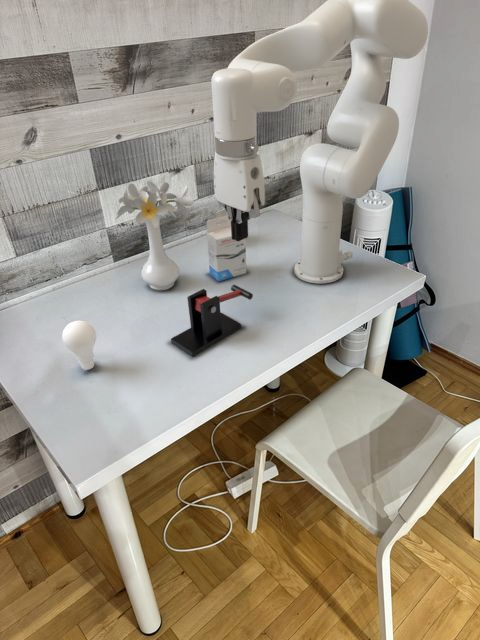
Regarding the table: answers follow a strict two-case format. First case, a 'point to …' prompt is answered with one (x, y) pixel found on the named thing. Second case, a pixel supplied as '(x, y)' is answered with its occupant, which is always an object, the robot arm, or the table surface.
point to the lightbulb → (80, 342)
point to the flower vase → (155, 228)
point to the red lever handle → (226, 296)
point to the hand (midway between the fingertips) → (240, 238)
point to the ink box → (224, 250)
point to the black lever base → (204, 325)
